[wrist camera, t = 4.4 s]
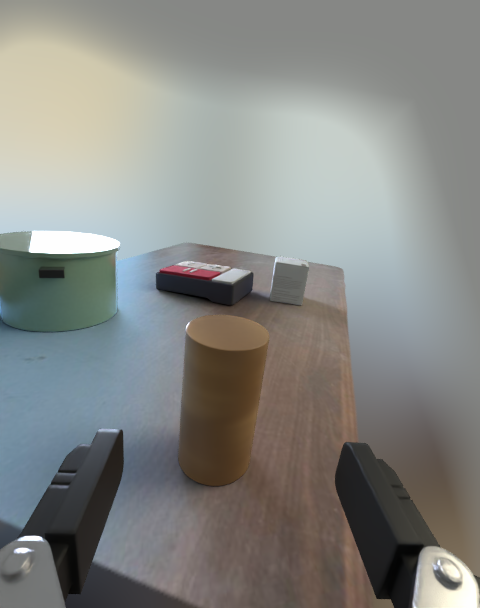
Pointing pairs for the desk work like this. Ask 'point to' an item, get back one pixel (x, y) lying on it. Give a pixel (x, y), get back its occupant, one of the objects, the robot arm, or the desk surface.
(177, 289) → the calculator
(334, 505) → the desk surface
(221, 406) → the tall wooden cylinder
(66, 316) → the pot
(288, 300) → the white cardboard box
